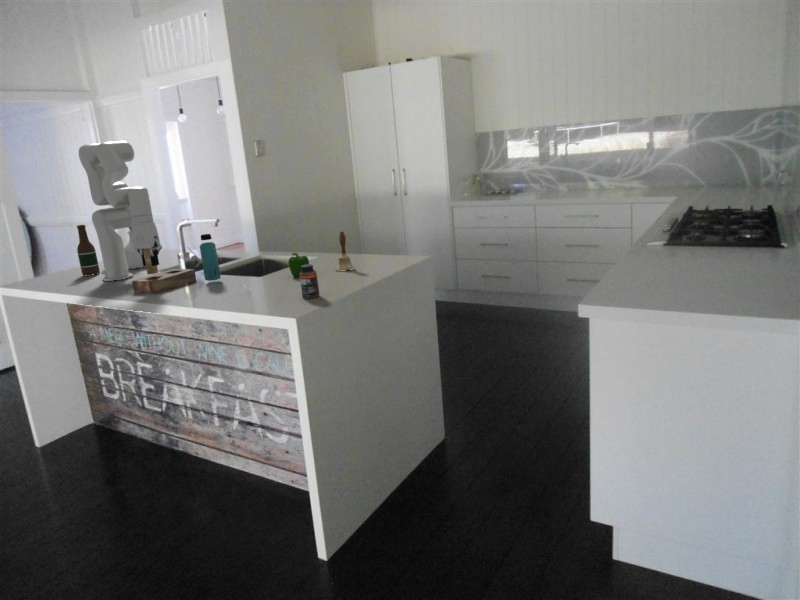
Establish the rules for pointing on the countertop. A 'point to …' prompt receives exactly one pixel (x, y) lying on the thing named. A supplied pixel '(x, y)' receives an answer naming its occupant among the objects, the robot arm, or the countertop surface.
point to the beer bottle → (86, 253)
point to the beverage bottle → (209, 259)
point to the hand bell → (343, 255)
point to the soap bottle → (132, 254)
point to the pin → (149, 262)
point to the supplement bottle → (309, 282)
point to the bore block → (163, 281)
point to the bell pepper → (297, 264)
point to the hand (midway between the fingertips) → (151, 265)
